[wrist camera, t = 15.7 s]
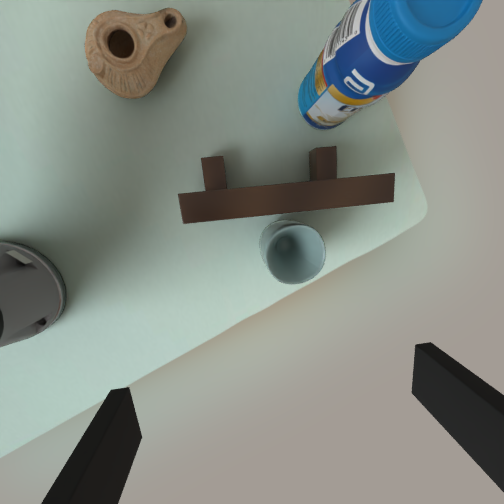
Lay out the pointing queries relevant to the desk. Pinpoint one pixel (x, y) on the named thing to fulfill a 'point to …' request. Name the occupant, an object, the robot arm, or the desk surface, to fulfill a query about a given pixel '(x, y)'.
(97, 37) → the pottery oil lamp
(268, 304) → the desk surface
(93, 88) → the desk surface
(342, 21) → the beverage bottle
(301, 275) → the cup
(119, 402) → the robot arm
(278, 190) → the partition wall
